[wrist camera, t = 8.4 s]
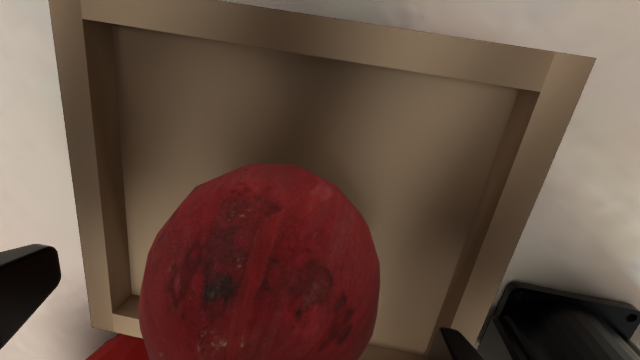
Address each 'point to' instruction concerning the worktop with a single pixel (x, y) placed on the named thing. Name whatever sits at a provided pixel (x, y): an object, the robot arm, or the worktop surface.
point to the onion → (261, 272)
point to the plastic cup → (121, 349)
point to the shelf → (310, 142)
